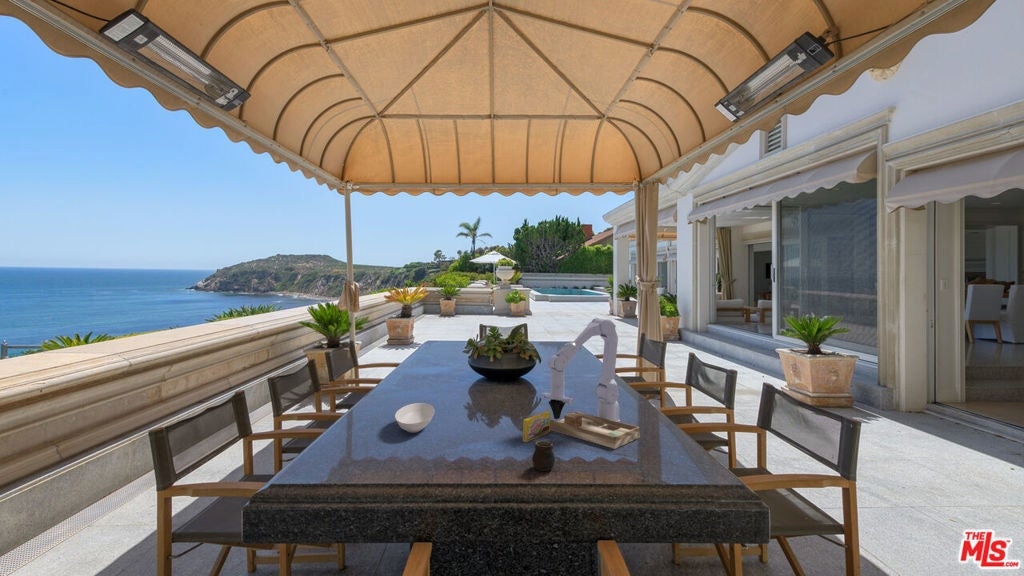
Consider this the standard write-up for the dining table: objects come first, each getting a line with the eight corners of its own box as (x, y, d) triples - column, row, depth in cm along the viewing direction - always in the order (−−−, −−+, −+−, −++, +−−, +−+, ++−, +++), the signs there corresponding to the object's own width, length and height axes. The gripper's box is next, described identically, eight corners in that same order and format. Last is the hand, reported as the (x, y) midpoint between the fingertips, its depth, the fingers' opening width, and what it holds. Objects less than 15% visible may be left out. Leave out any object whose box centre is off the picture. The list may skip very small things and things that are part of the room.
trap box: (575, 420, 198) (576, 411, 198) (639, 437, 177) (640, 427, 177) (549, 429, 185) (549, 419, 185) (614, 448, 164) (615, 437, 164)
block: (571, 422, 187) (571, 412, 187) (581, 425, 183) (582, 415, 183) (564, 425, 183) (564, 415, 183) (574, 428, 179) (574, 417, 179)
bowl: (429, 440, 171) (430, 423, 171) (388, 440, 170) (388, 423, 170) (437, 417, 201) (437, 403, 201) (402, 417, 200) (402, 403, 200)
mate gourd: (540, 462, 150) (541, 431, 150) (560, 468, 146) (561, 437, 146) (527, 468, 145) (528, 437, 145) (546, 475, 140) (548, 442, 140)
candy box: (526, 443, 169) (527, 420, 169) (521, 441, 171) (522, 419, 171) (550, 432, 182) (550, 411, 182) (545, 431, 183) (546, 410, 183)
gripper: (537, 383, 191) (536, 416, 191) (565, 389, 181) (565, 424, 181) (548, 381, 196) (547, 413, 196) (576, 387, 186) (575, 420, 186)
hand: (556, 418), depth 189 cm, fingers closed
